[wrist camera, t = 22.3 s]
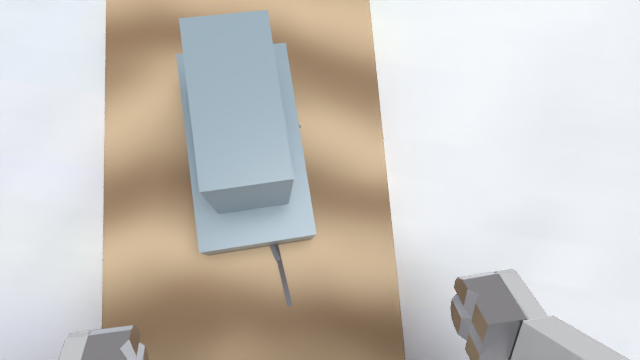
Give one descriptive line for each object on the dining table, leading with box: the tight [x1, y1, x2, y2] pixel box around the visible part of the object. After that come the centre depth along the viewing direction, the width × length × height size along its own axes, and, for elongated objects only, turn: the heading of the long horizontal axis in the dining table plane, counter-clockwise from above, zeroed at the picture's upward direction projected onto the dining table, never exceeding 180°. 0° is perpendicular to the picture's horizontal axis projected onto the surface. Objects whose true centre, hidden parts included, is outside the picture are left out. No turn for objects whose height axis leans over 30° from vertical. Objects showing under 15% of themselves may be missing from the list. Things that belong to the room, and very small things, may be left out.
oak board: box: [102, 0, 405, 360], centre depth 24 cm, size 26×14×2 cm, turn 4°
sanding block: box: [176, 10, 317, 256], centre depth 20 cm, size 9×5×8 cm, turn 9°
